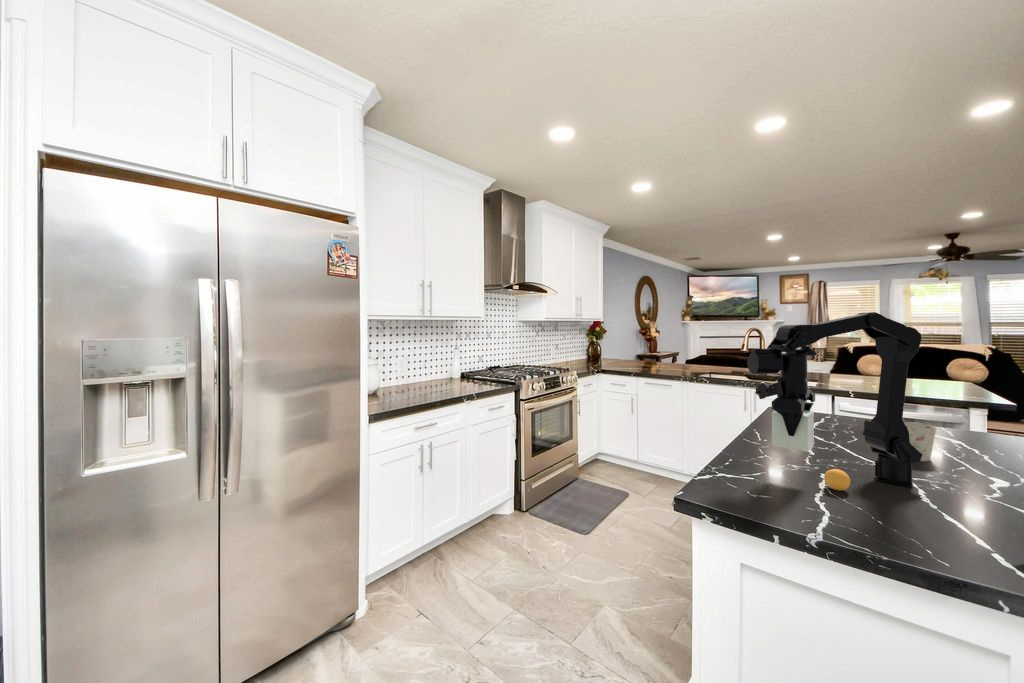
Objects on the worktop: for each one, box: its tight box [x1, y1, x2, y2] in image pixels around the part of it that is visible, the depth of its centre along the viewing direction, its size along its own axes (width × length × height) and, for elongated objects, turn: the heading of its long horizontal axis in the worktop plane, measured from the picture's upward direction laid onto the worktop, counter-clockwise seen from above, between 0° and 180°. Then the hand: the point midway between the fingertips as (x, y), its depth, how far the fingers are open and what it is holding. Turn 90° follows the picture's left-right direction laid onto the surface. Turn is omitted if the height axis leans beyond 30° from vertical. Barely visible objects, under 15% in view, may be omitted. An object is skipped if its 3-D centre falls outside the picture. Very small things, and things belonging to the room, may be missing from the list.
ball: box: [823, 468, 851, 491], centre depth 98 cm, size 5×5×5 cm
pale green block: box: [771, 410, 815, 453], centre depth 105 cm, size 8×8×9 cm
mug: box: [904, 421, 937, 462], centre depth 119 cm, size 8×13×10 cm, turn 78°
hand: (794, 432), depth 104 cm, fingers closed on pale green block, 8 cm apart
